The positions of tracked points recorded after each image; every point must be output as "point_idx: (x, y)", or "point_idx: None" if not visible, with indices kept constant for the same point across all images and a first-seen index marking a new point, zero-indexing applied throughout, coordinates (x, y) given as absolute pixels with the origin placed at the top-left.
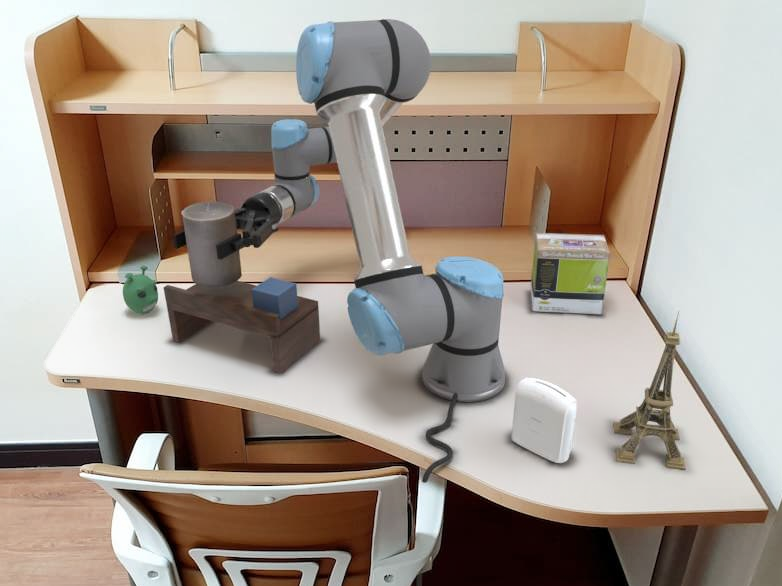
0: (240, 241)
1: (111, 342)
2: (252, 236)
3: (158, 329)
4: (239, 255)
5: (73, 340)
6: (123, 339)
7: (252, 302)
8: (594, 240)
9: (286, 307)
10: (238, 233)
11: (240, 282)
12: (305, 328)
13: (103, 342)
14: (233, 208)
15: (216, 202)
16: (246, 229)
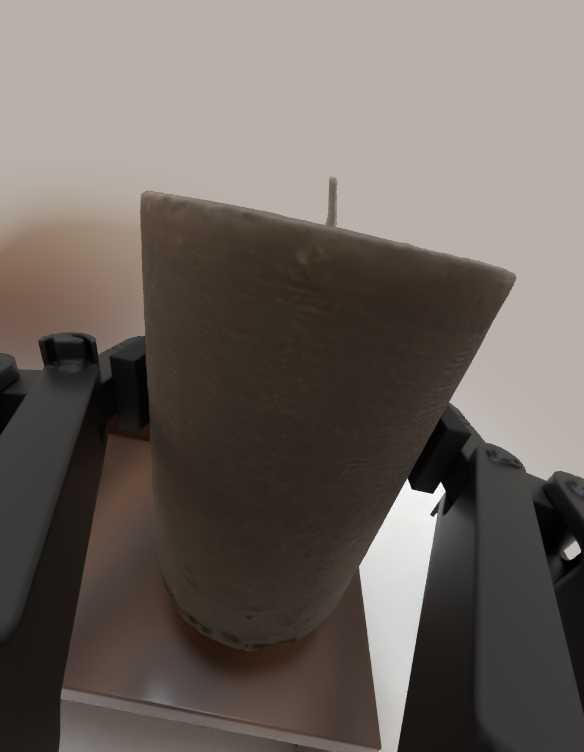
0: (115, 351)
1: (405, 504)
2: (17, 388)
3: (384, 574)
4: (152, 488)
5: None
6: (400, 518)
7: (111, 516)
8: None
9: None
10: (130, 360)
11: (194, 694)
12: None
13: (414, 501)
14: (152, 193)
15: (414, 246)
16: (60, 418)
